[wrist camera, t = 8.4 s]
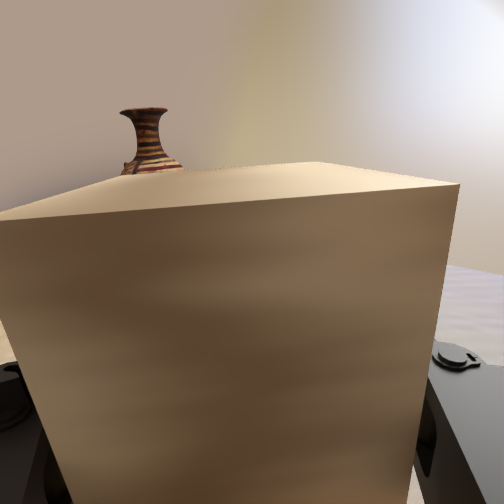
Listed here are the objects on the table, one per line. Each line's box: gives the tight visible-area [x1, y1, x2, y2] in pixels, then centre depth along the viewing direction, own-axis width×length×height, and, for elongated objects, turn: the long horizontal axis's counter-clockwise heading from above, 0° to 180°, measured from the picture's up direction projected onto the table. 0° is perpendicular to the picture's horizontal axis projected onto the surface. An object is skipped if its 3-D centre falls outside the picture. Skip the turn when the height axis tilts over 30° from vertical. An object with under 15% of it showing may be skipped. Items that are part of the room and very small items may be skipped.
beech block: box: [0, 161, 460, 504], centre depth 8 cm, size 6×6×12 cm
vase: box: [120, 107, 185, 176], centre depth 69 cm, size 21×18×30 cm
